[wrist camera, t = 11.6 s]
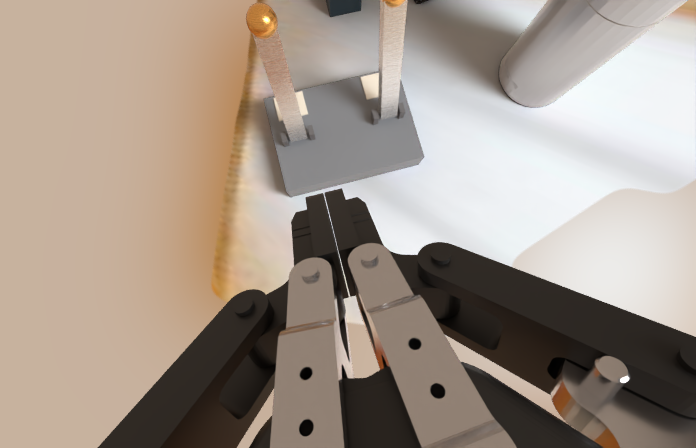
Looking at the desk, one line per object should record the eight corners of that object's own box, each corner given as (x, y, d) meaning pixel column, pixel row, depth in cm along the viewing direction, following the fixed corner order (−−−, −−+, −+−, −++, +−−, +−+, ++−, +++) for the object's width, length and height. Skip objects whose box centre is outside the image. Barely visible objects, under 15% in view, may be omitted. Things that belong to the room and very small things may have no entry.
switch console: (393, 80, 41) (399, 58, 37) (418, 164, 40) (427, 152, 35) (269, 110, 40) (260, 92, 36) (290, 197, 39) (283, 188, 35)
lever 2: (394, 105, 37) (404, -39, 24) (400, 119, 36) (415, -24, 23) (375, 109, 37) (375, -32, 24) (380, 123, 36) (385, -17, 23)
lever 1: (306, 126, 37) (270, -7, 24) (310, 141, 36) (274, 10, 23) (286, 131, 37) (240, 0, 24) (290, 146, 36) (243, 17, 23)
